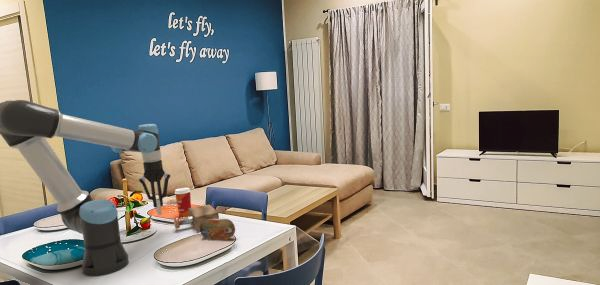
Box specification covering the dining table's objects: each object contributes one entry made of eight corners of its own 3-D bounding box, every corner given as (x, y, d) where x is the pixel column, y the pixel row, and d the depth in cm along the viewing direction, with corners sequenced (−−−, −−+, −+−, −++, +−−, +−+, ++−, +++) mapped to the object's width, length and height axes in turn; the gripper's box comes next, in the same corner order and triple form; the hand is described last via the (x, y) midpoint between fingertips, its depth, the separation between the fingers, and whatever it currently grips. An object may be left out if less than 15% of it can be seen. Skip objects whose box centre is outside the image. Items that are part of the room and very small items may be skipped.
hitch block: (197, 232, 177) (195, 217, 176) (189, 222, 191) (188, 208, 190) (219, 227, 181) (218, 212, 180) (211, 218, 196) (209, 204, 195)
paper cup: (176, 216, 203) (173, 188, 201) (191, 213, 206) (189, 186, 205) (178, 220, 196) (175, 192, 194) (194, 217, 199) (191, 189, 197)
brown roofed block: (176, 230, 178) (175, 218, 178) (174, 226, 183) (173, 215, 182) (207, 223, 184) (206, 212, 184) (205, 220, 189) (203, 209, 188)
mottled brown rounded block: (200, 239, 169) (198, 219, 168) (204, 236, 172) (202, 217, 171) (233, 241, 164) (231, 220, 163) (237, 238, 167) (235, 218, 166)
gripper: (166, 157, 180) (173, 208, 184) (135, 161, 175) (142, 214, 178) (169, 159, 173) (176, 212, 177) (136, 164, 168) (144, 219, 171)
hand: (159, 213), depth 177 cm, fingers closed
